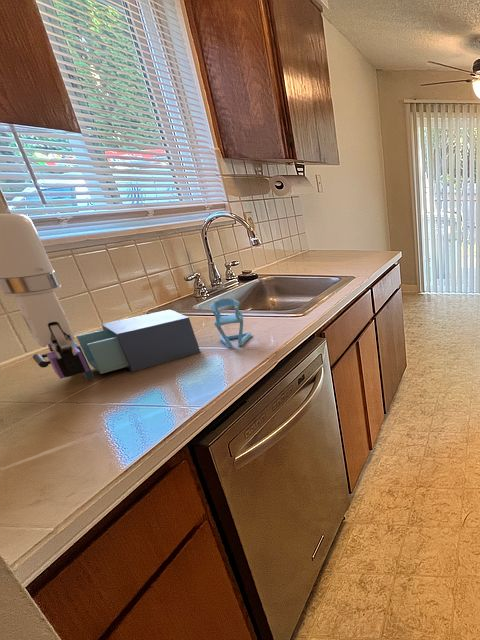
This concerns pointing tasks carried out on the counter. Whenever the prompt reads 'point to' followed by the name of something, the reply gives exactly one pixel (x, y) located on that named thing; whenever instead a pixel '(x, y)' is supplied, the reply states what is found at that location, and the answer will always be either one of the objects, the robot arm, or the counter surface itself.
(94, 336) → the teal drawer
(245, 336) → the chair
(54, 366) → the purple cube
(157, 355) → the grey drawer box
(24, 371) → the counter surface
